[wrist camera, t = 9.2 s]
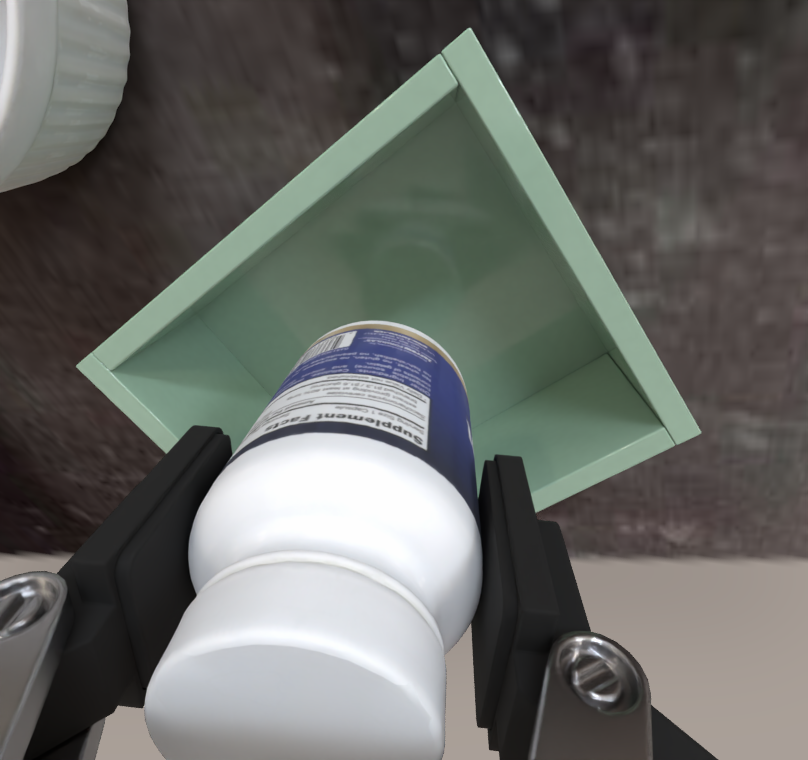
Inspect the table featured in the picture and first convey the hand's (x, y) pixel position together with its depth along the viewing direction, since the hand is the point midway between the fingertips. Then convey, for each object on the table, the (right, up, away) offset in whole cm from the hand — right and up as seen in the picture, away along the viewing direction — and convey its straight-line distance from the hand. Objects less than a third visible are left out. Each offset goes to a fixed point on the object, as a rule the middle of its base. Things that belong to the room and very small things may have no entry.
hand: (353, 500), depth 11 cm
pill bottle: (0, +2, +5) cm, 5 cm away
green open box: (+1, +5, +11) cm, 12 cm away
